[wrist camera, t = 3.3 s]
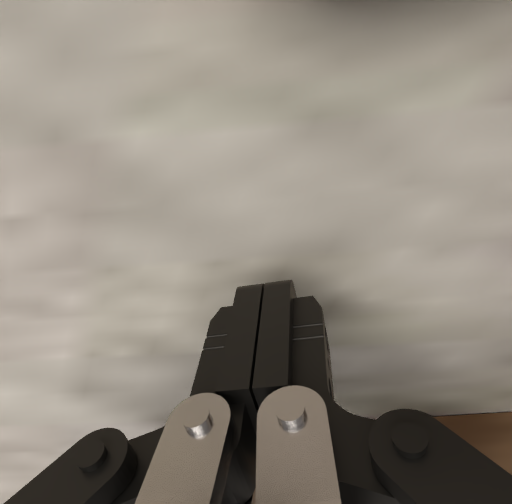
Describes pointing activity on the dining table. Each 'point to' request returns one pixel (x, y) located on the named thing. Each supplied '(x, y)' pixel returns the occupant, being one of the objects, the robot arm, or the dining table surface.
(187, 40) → the dining table surface
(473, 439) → the channel rails
